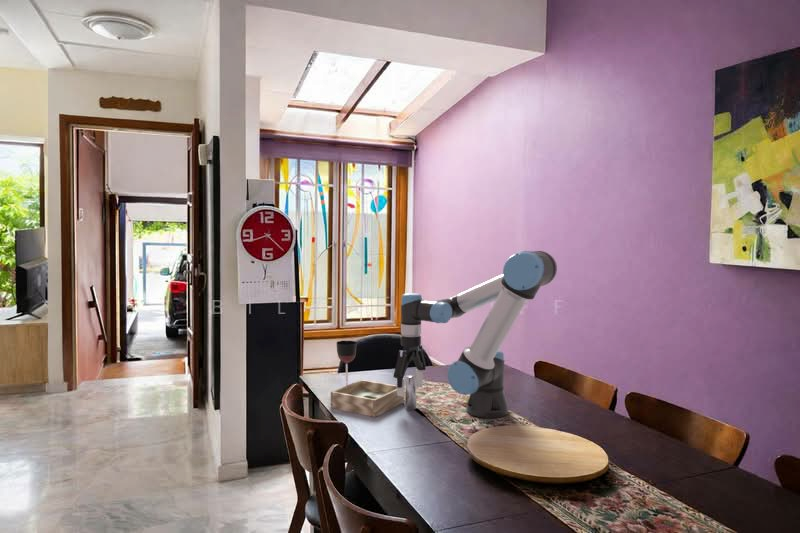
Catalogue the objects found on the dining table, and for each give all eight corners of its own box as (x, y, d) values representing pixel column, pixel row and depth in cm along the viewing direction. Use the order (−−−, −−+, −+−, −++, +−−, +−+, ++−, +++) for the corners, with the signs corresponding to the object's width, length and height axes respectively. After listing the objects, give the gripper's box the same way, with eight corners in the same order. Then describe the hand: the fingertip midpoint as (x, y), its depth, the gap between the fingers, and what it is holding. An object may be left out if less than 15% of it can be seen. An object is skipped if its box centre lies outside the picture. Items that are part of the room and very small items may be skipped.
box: (403, 402, 204) (403, 386, 204) (375, 416, 187) (375, 400, 187) (361, 394, 215) (361, 379, 214) (330, 407, 198) (330, 391, 197)
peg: (418, 407, 198) (418, 376, 197) (412, 410, 194) (412, 378, 194) (408, 405, 200) (408, 374, 199) (403, 408, 196) (403, 377, 196)
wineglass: (348, 393, 215) (347, 345, 214) (332, 390, 221) (332, 342, 220) (360, 389, 222) (360, 342, 221) (345, 385, 227) (345, 339, 226)
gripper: (418, 328, 208) (417, 381, 210) (384, 339, 187) (383, 398, 188) (435, 330, 204) (434, 384, 206) (402, 341, 183) (401, 401, 184)
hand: (410, 391), depth 197 cm, fingers open, 13 cm apart
